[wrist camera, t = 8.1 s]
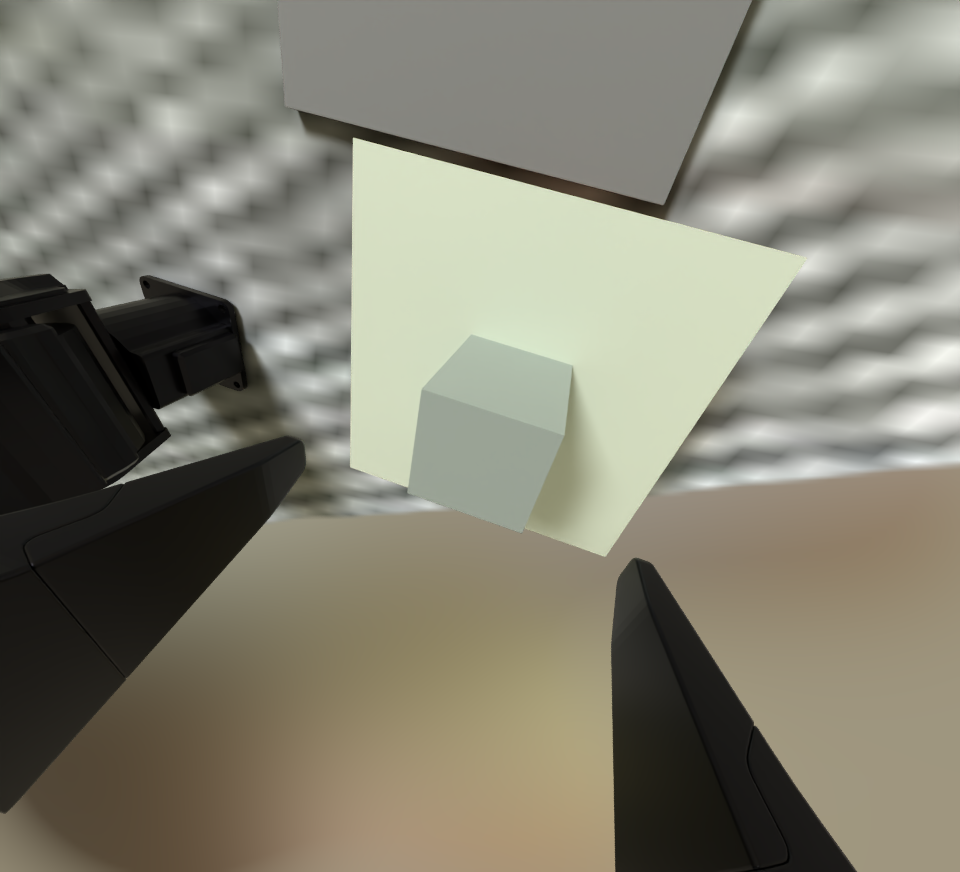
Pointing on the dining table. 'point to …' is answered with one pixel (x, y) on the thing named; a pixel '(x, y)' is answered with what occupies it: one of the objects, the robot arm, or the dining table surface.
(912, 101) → the dining table surface
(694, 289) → the cover
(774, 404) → the dining table surface
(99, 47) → the dining table surface
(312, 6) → the grey square panel
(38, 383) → the robot arm
